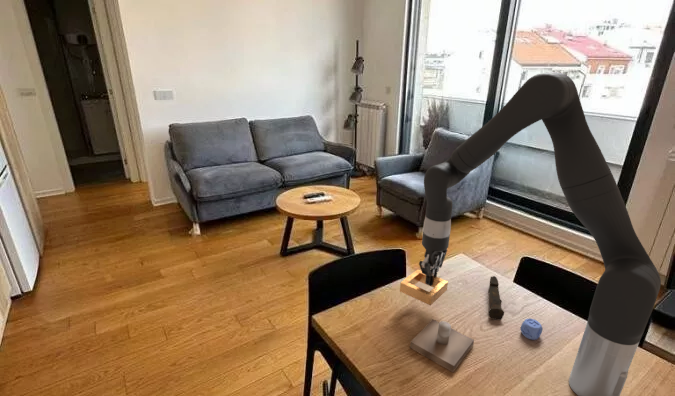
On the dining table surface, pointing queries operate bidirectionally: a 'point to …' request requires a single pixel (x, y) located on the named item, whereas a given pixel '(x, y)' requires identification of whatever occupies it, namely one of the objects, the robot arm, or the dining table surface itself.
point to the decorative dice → (531, 329)
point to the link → (421, 294)
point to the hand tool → (495, 300)
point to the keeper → (442, 344)
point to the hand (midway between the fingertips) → (430, 283)
